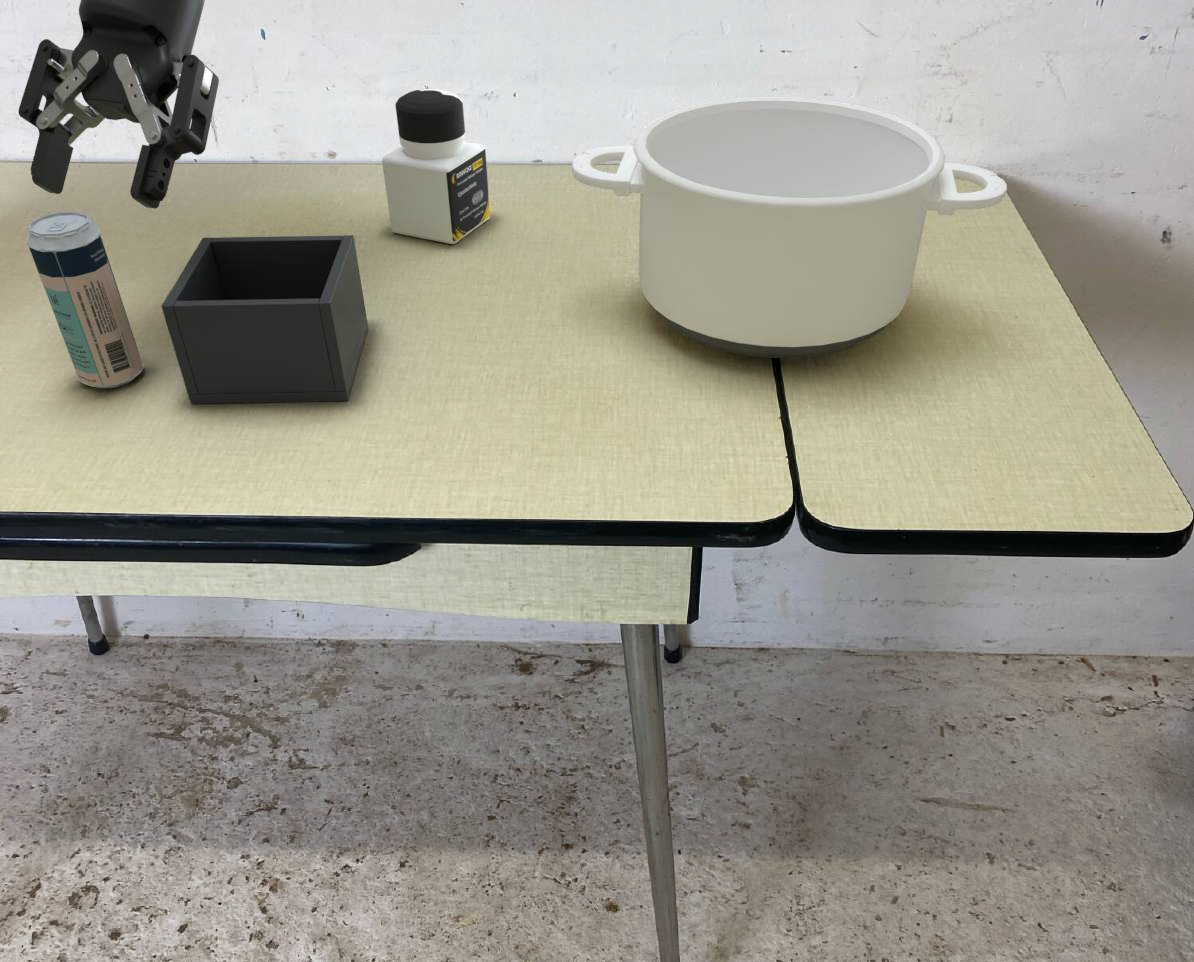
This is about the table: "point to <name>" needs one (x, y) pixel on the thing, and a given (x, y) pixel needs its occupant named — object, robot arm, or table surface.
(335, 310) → the bin
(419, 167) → the medicine bottle
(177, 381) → the table surface
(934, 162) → the pot
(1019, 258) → the table surface
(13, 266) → the table surface
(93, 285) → the beer can
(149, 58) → the robot arm
